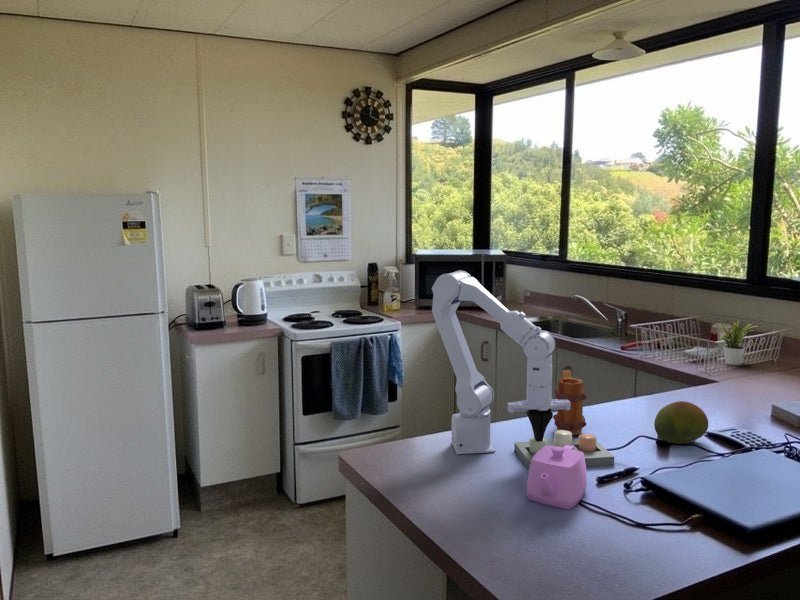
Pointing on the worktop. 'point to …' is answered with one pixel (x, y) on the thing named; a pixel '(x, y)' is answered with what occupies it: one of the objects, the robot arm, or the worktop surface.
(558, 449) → the teapot
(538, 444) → the button sage
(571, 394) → the mug
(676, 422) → the fruit
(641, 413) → the worktop surface
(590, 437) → the button terracotta
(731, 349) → the house plant
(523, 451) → the panel
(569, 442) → the button cream
